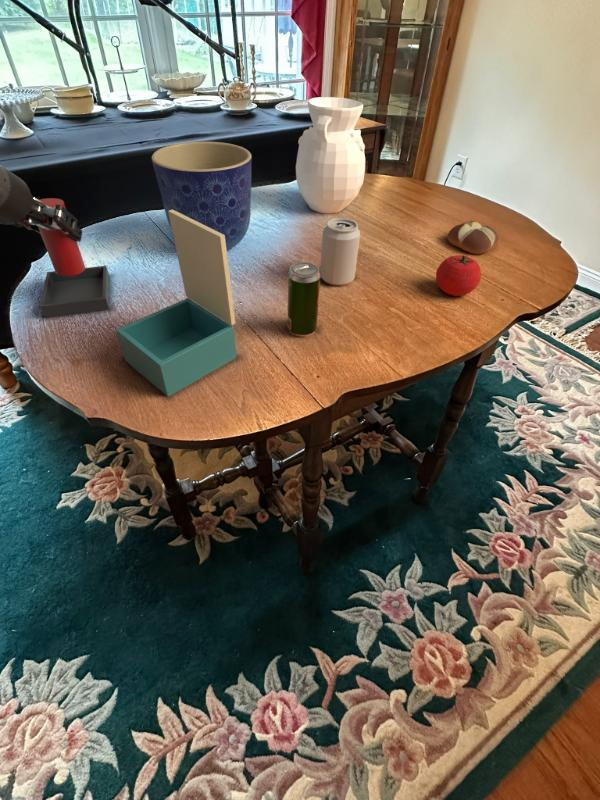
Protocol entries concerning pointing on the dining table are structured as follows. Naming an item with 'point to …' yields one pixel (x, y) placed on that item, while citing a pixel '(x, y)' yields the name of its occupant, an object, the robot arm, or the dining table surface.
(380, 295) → the dining table surface
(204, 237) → the lid
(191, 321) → the teal open box
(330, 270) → the can
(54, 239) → the plain red cylinder
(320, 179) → the white vase
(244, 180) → the planter
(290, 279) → the beer can
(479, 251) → the bread
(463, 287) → the tomato
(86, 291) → the tray
